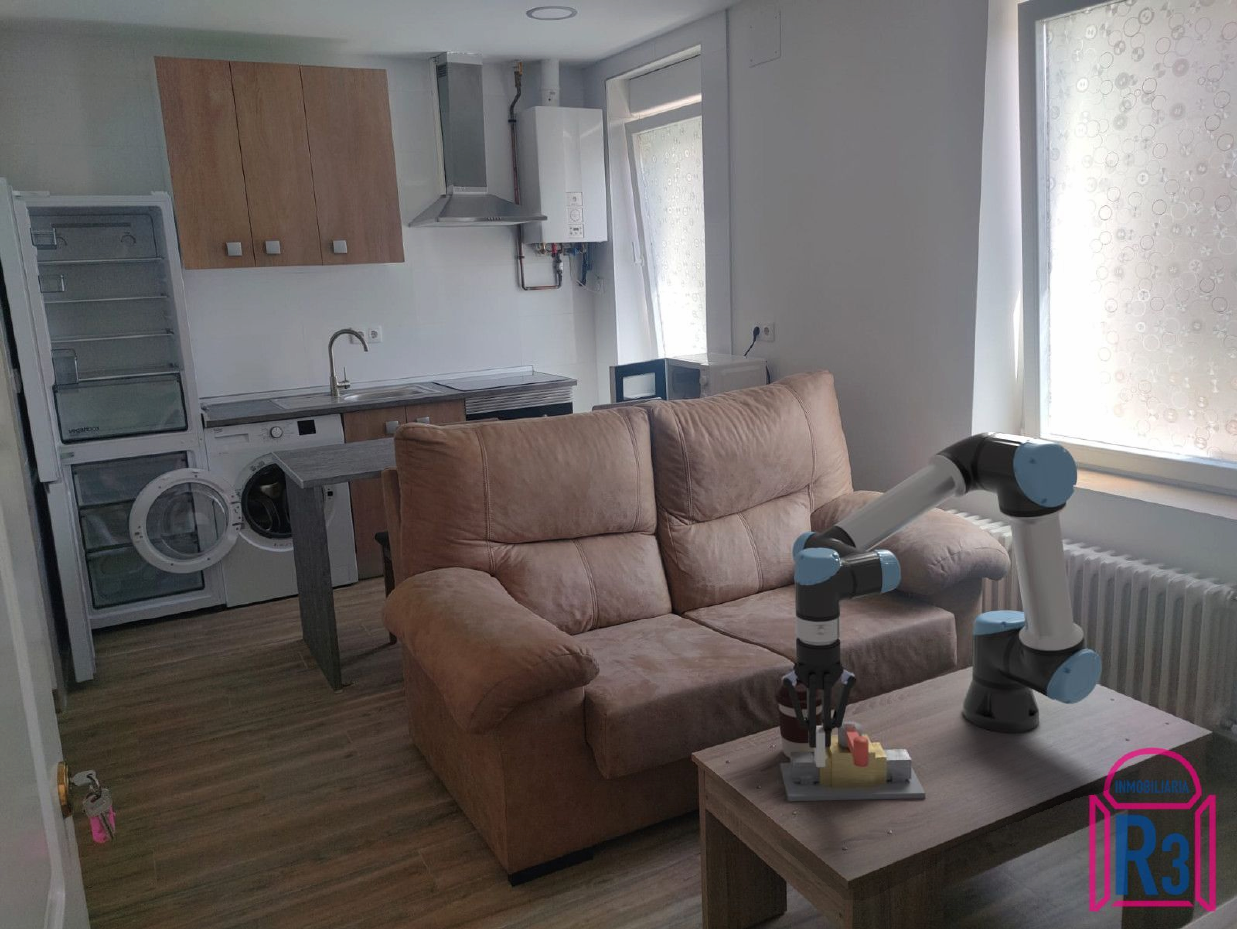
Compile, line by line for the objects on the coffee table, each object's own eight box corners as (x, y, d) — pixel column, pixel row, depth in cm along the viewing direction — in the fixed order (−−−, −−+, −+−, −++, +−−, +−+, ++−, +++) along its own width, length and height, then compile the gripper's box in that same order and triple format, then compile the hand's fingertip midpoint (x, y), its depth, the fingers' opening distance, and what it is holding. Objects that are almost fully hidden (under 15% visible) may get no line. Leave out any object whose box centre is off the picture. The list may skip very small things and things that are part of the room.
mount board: (908, 764, 182) (908, 760, 182) (925, 798, 170) (925, 793, 170) (780, 768, 183) (780, 763, 183) (788, 801, 171) (788, 796, 171)
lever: (835, 737, 177) (835, 709, 176) (859, 736, 177) (859, 708, 176) (850, 773, 164) (849, 744, 163) (875, 773, 164) (875, 743, 163)
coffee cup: (826, 766, 183) (825, 696, 180) (775, 764, 185) (774, 694, 182) (825, 742, 192) (824, 674, 189) (777, 740, 194) (775, 673, 191)
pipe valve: (903, 766, 179) (903, 733, 178) (913, 786, 172) (913, 751, 171) (789, 769, 180) (788, 736, 179) (794, 788, 174) (793, 754, 172)
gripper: (782, 647, 156) (785, 775, 161) (860, 644, 156) (861, 773, 160) (777, 631, 164) (780, 753, 168) (851, 628, 163) (852, 751, 168)
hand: (819, 763), depth 164 cm, fingers closed
